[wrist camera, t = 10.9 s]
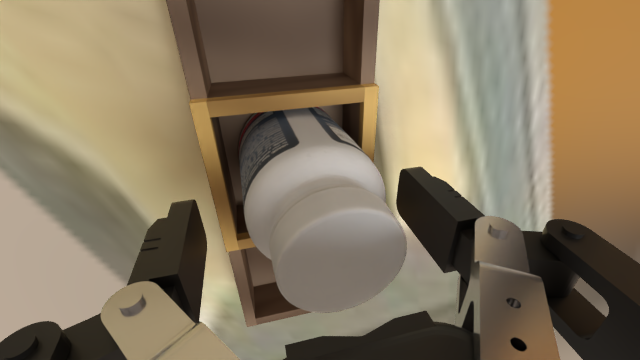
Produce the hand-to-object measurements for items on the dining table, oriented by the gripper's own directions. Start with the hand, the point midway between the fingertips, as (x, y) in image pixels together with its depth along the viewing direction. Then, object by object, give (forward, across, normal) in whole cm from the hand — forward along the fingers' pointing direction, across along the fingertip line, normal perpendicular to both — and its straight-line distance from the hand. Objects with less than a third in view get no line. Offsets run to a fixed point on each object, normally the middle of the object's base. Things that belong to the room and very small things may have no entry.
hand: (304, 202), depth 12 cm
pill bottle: (+5, 0, 0) cm, 5 cm away
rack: (+6, 0, 0) cm, 6 cm away
